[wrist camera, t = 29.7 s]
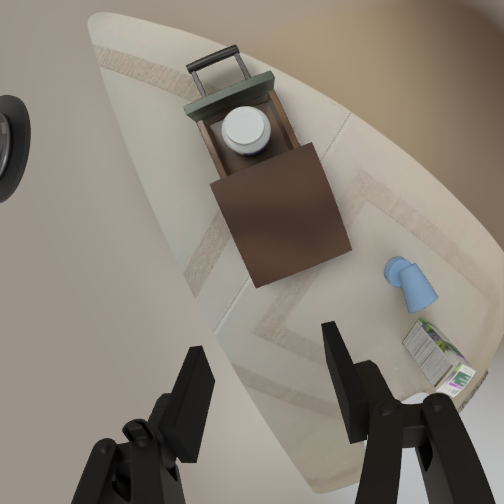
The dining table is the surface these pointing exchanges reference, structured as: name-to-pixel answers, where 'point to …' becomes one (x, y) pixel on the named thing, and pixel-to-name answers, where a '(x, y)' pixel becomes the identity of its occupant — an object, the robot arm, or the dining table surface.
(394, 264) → the spotlight
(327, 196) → the cabinet
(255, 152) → the pill bottle
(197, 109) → the drawer
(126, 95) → the dining table surface
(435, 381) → the syrup box
